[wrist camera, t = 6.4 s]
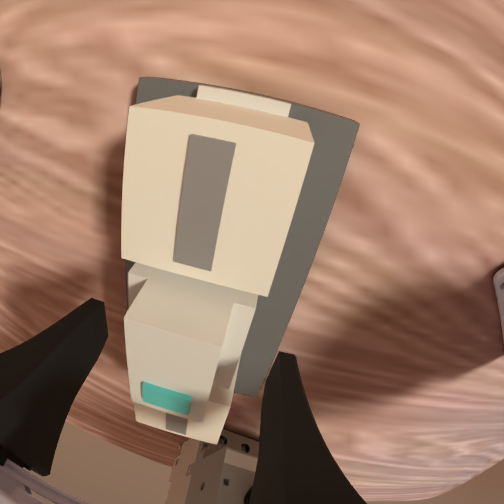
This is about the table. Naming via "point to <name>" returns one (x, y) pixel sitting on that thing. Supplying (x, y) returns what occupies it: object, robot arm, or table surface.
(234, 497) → the circuit breaker
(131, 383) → the block
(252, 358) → the rail plate
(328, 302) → the table surface
